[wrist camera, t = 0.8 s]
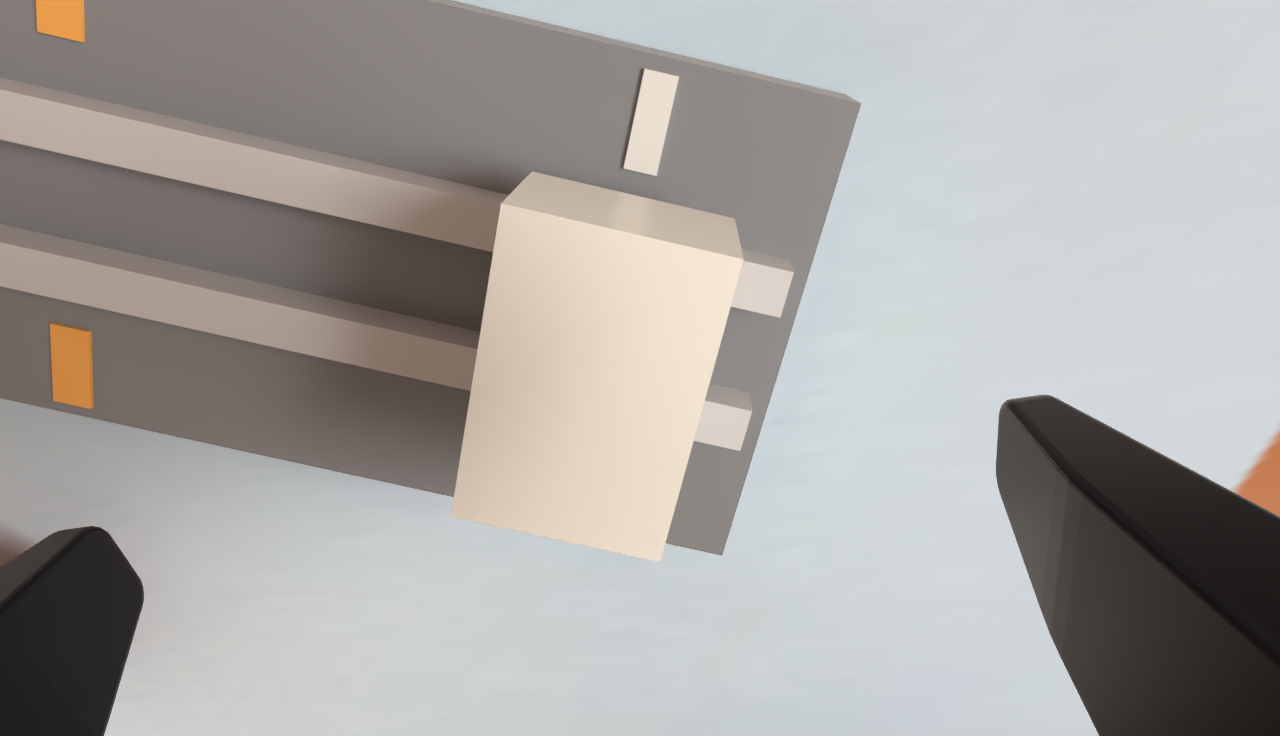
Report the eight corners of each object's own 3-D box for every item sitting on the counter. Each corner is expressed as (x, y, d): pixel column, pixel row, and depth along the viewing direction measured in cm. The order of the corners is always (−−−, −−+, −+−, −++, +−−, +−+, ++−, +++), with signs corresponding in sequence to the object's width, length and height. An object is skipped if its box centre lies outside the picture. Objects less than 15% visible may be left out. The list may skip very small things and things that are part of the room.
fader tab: (732, 205, 18) (743, 259, 14) (665, 456, 20) (660, 562, 16) (541, 161, 18) (500, 203, 14) (496, 419, 20) (450, 516, 16)
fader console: (844, 94, 19) (870, 108, 16) (719, 512, 23) (723, 579, 21) (-67, -123, 19) (-200, -147, 16) (-29, 347, 23) (-128, 394, 20)
